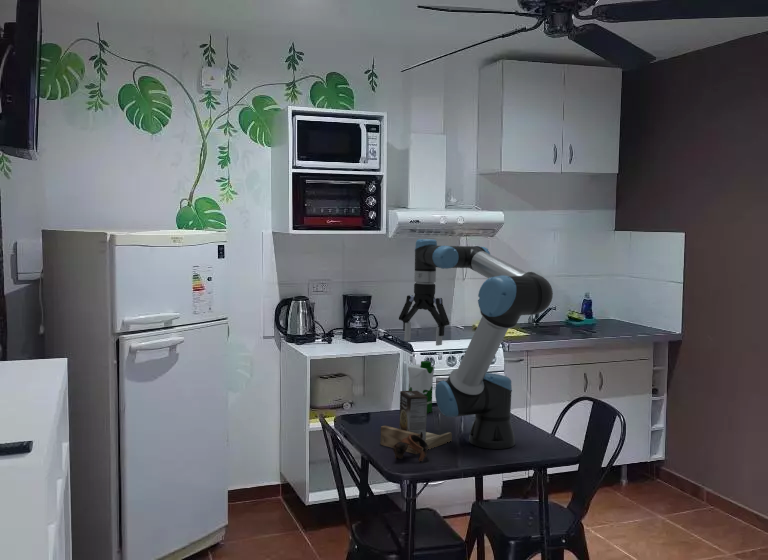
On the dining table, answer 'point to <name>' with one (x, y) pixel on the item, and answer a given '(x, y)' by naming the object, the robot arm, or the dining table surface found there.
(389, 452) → the dining table surface
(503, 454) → the dining table surface
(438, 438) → the holder
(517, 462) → the dining table surface
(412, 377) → the milk carton
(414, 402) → the coffee box
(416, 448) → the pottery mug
